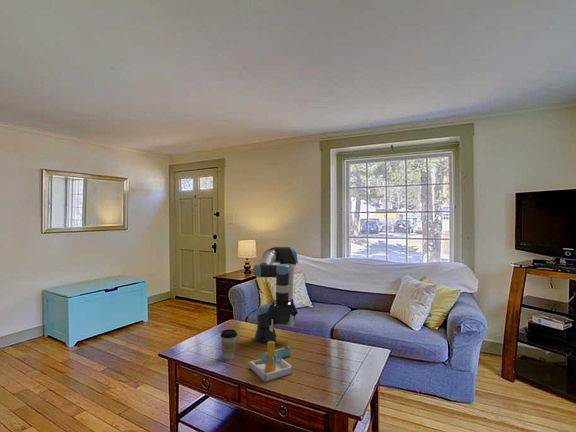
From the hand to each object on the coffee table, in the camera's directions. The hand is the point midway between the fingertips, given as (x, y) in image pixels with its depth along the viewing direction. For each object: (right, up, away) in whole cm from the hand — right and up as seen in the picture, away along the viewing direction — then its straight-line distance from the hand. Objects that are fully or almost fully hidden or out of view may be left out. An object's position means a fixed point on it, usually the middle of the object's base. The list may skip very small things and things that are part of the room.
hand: (281, 328), depth 175 cm
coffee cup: (-32, -20, +7) cm, 38 cm away
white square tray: (-6, -20, -7) cm, 22 cm away
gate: (-3, -20, +6) cm, 21 cm away
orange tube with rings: (-6, -20, -8) cm, 22 cm away
